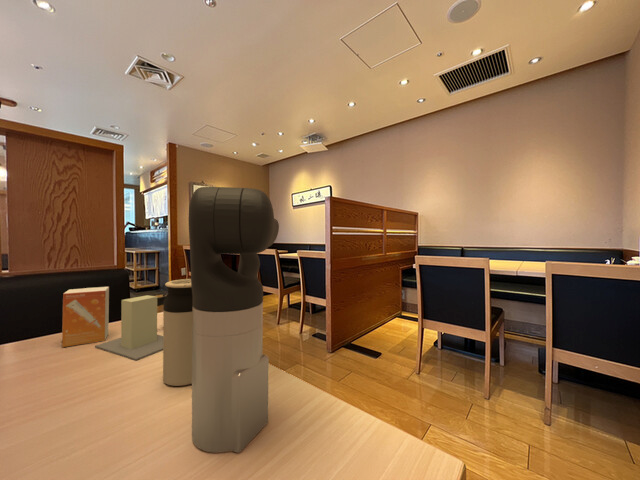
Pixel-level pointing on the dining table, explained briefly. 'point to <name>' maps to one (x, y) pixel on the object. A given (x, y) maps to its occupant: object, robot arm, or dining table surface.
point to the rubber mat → (134, 353)
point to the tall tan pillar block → (138, 321)
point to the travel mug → (177, 333)
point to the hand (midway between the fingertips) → (163, 304)
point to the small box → (85, 316)
